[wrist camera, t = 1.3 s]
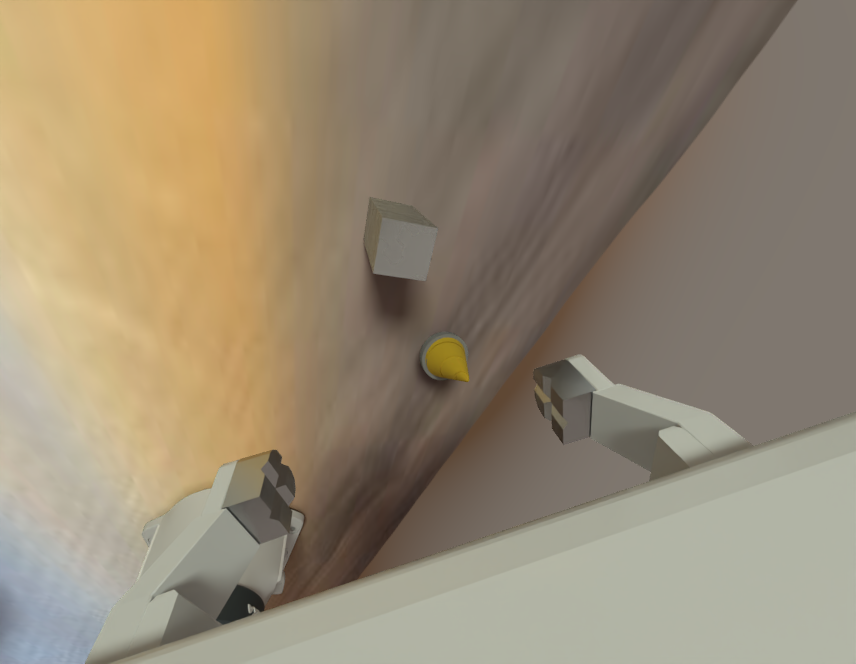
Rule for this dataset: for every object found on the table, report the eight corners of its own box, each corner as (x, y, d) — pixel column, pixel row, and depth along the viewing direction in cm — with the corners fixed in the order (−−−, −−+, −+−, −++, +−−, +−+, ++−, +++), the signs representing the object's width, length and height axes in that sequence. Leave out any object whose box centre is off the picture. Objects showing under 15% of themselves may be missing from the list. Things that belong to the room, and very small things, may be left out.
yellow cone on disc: (407, 363, 41) (434, 403, 32) (420, 320, 40) (452, 349, 31) (447, 370, 43) (483, 410, 34) (461, 330, 42) (502, 360, 33)
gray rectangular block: (403, 246, 35) (425, 281, 27) (363, 239, 34) (373, 273, 25) (411, 205, 33) (437, 228, 25) (369, 196, 32) (382, 217, 24)
